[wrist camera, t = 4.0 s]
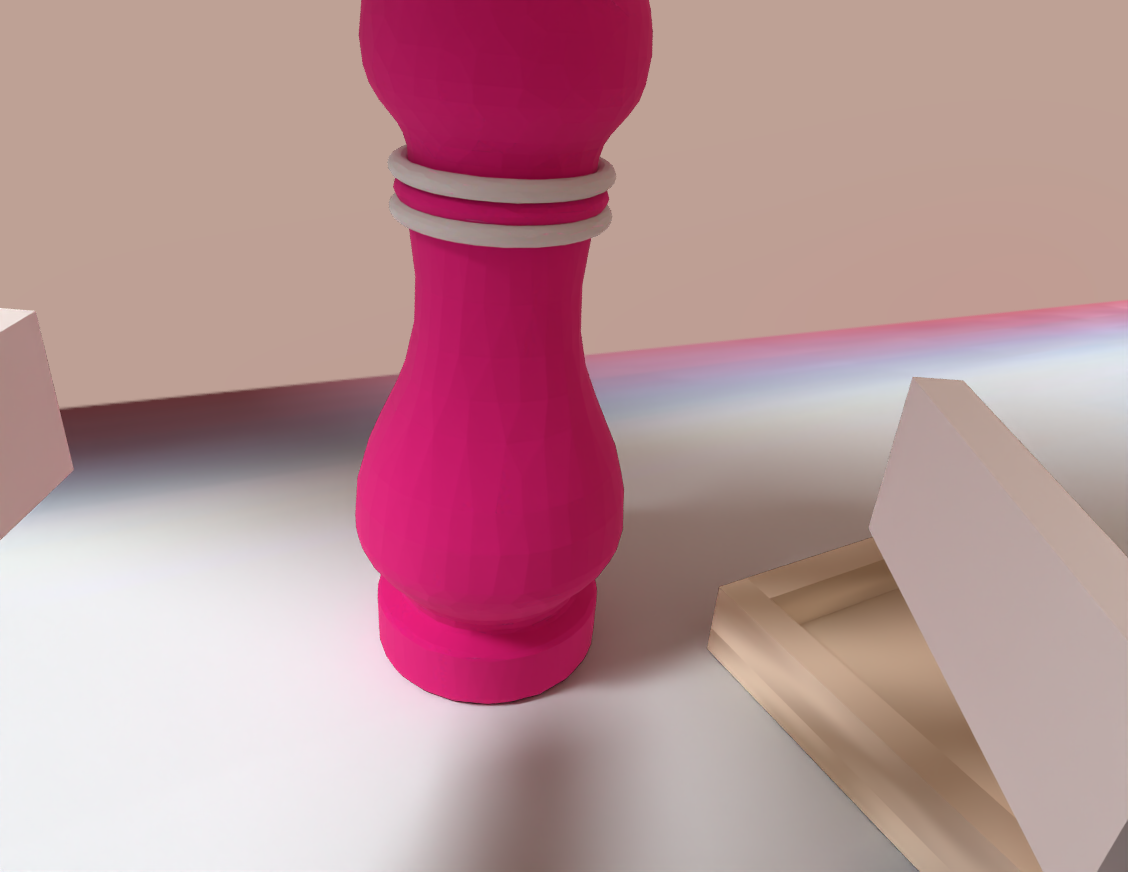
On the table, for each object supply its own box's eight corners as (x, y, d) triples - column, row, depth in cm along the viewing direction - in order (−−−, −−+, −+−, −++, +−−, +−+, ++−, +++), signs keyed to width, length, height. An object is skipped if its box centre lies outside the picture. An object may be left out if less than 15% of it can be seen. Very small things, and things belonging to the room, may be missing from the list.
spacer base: (707, 648, 25) (719, 586, 24) (991, 545, 31) (1011, 492, 30) (1147, 1111, 15) (1204, 1042, 14) (1441, 830, 21) (1497, 766, 20)
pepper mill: (588, 552, 29) (663, -162, 19) (629, 715, 22) (769, -224, 13) (371, 556, 28) (336, -196, 18) (351, 728, 21) (279, -283, 12)
